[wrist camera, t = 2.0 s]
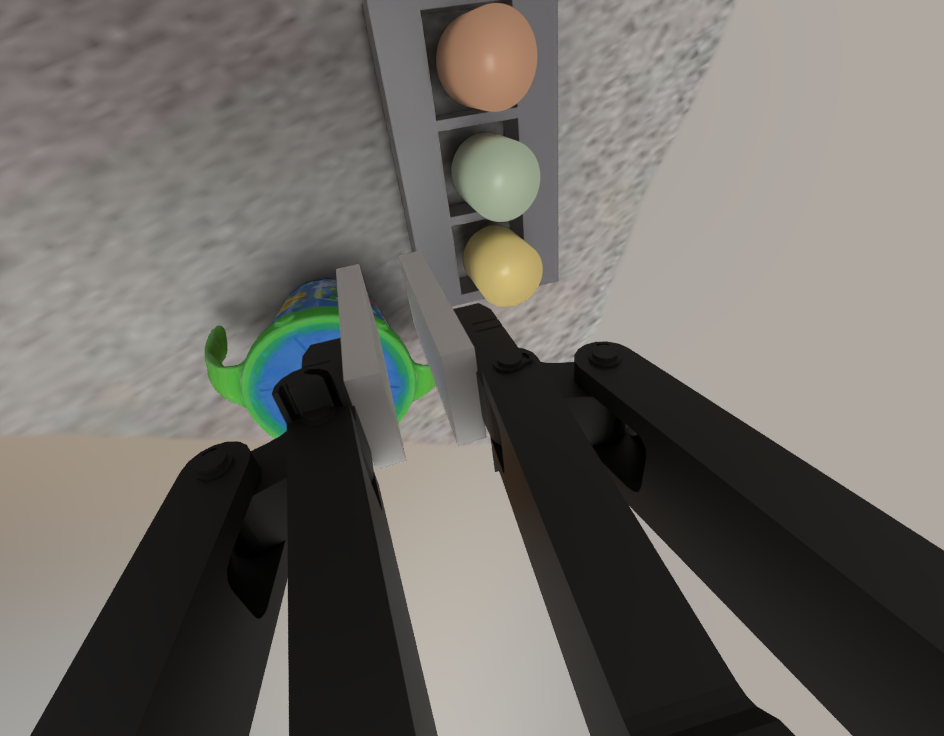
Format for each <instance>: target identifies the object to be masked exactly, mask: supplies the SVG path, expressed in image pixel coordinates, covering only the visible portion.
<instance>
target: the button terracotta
mask: <svg viewBox="0 0 944 736" xmlns="http://www.w3.org/2000/svg"><path fill="white" fill-rule="evenodd" d="M436 65H437V72H438V76H439V79H440V82H441V84H442V86H443V88H444V90H445V91H446V92H447V94H448V95H449V96H450V97H451V98H452V99H453V100H454V101H456V102H457V103H459V104H461V105H463V106H466V107H471V108H475V109H480V110H484V111H489V112H500V111H504V110H506V109H509V108H511V107H512V106H514V105H515V104H517V103H518V102H519V101H520V100H521V99H522V98H523V97H524V96H525V94H526V93H527V91H528V90H529V88H530V86H531V84H532V82H533V79H534V76H535V72H536V67H537V45H536V40H535V37H534V33H533V31H532V29H531V27H530V25H529V23H528V21H527V20H526V19H525V17H524V16H523V15H522V14H521V13H520V12H519V11H517V10H516V9H515V8H513V7H511V6H509V5H506V4H502V3H490V4H486V5H483V6H481V7H479V8H476V9H474V10H472V11H469V12H467V13H465V14H462V15H460V16H458V17H457V18H455V19H454V20H453V21H451V22H450V23H449V25H448V26H447V27H446V29H445V30H444V32H443V34H442V35H441V38H440V40H439V43H438V48H437V54H436Z"/></svg>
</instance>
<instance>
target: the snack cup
mask: <svg viewBox="0 0 944 736" xmlns="http://www.w3.org/2000/svg"><path fill="white" fill-rule="evenodd" d="M368 297H369V301H370V305H371V308H372V312H373V315H374V319H375V322H376V326H377V329H378V333H379V337H380V342H381V346H382V351H383V355H384V360H385V365H386V369H387V374H388V379H389V383H390V388H391V392H392V397H393V402H394V406H395V411H396V416H397V420H398V423H399V422H400V421H401V420H402V418H403V417H404V416H405V414H406V412H407V411H408V409H409V407H410V405H411V403H412V402H414V401H415V400H417V399H419V398H421V397H422V396H424V395H425V394H427V393H428V392H429V391H430V390H431V389H433V387H434V386H435V381H434V379H433V376H432V373H431V370H430V368H429V365H421V364H417V363H415V362H414V361H413V360H412V359H411V357H410V354H409V352H408V350H407V348H406V346H405V345H404V343H403V341H402V340H401V339H400V337H399V336H398V335H397V334H396V333H395V332H394V331H393V330H392V329H391V328H390V326H389V325H388V323H387V321H386V319H385V318H384V317H383V315H382V313H381V311H380V309H379V308H378V307H377V305H376V303H375V302H374V300H373V299H372V298H371V297H370V296H369V295H368ZM337 338H341V335H340V321H339V306H338V291H337V279H335V278H334V279H322V280H318V281H311V282H309V283H304V284H302V285H301V286H300V288H299V289H297V290H296V291H294V292H293V293H292V294H291V295H290V296H289V297H288V298H287V300H286V301H285V303H284V304H283V306H282V307H281V309H280V311H279V312H278V314H277V315H276V317H275V319H274V322H273V323H272V324H271V325H270V326H269V327H268V328H267V329H266V330H265V331H264V332H262V333H261V335H260V336H259V337H258V338H257V340H256V341H255V342H254V344H253V345H252V347H251V349H250V351H249V353H248V355H247V358H246V359H245V361H243V362H242V363H241V364H239V365H235V366H226V367H225V366H223V365H222V364H221V363H222V362H223V360H224V359H225V357H226V354H227V337H226V332H225V329H224V328H223V327H222V326H217V327H216V328H215V329H213V330H212V331H211V333H210V334H209V336H208V339H207V342H206V345H205V362H206V366H207V370H208V377H209V380H210V382H211V384H212V386H213V387H214V389H215V390H216V391H217V392H218V393H220V395H221V396H223V397H225V398H226V399H228V400H229V401H231V402H234V403H237V404H239V405H241V406H243V407H245V408H246V409H247V410H248V412H249V413H250V415H251V417H252V418H253V420H254V421H255V422H256V423H257V424H258V425H259V426H260V427H261V428H262V429H263V430H264V431H265V432H267V433H268V434H269V435H270V436H272V437H274V438H275V439H276V438H278V437H279V436H281V435H282V434H283V433H284V432H286V431H287V424H286V422H285V420H284V418H283V416H282V414H281V412H280V410H279V408H278V406H277V404H276V402H275V400H274V398H273V396H272V391H273V389H274V386H275V385H276V384H277V383H278V382H279V381H280V380H281V379H282V378H283V377H285V376H287V375H288V374H290V373H291V372H293V371H296V370H299V369H301V368H302V356H303V355H304V353H305V352H306V350H307V349H308V348H309V346H310V345H312V344H316V343H320V342H324V341H329V340H333V339H337Z"/></svg>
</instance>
